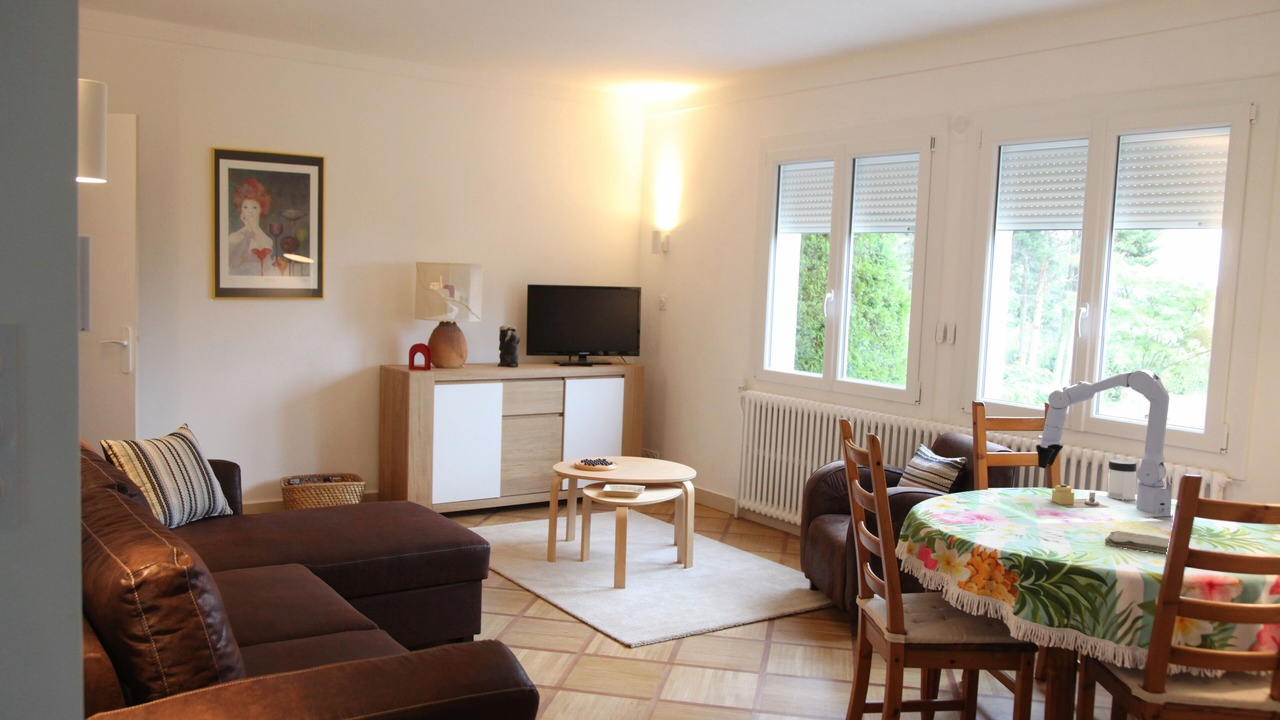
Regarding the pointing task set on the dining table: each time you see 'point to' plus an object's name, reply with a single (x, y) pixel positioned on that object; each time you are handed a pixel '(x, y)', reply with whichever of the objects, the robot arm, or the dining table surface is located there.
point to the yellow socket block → (1063, 494)
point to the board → (1079, 504)
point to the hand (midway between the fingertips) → (1045, 466)
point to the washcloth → (1138, 542)
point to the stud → (1092, 500)
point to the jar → (1122, 479)
